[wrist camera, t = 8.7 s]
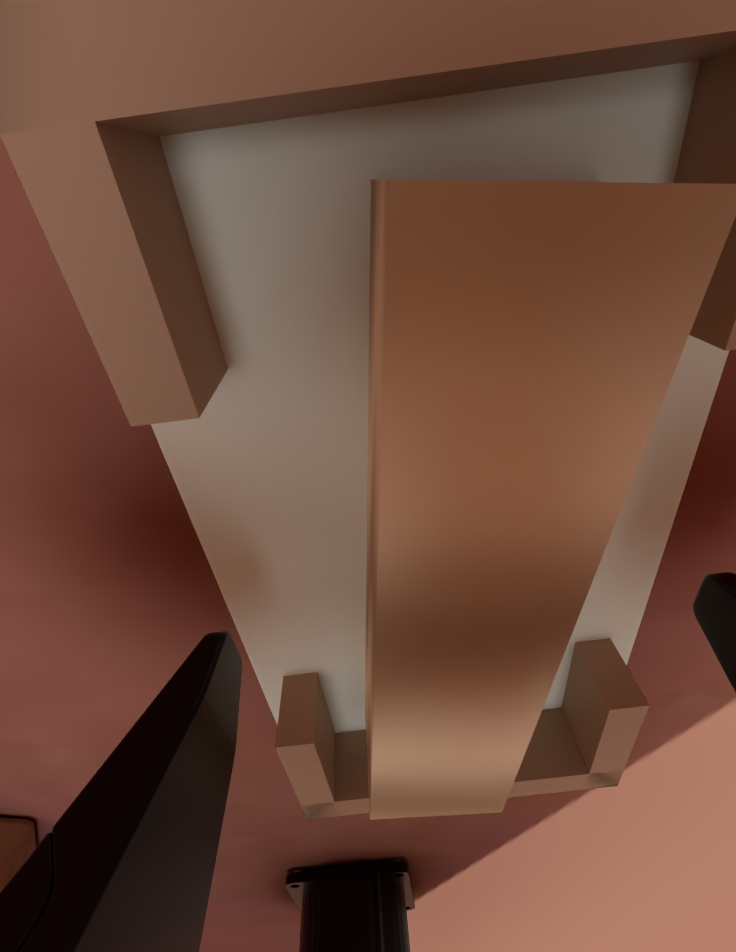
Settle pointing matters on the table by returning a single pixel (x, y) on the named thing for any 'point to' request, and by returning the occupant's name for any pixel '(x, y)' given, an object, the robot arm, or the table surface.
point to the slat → (505, 449)
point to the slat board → (349, 286)
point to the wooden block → (14, 846)
